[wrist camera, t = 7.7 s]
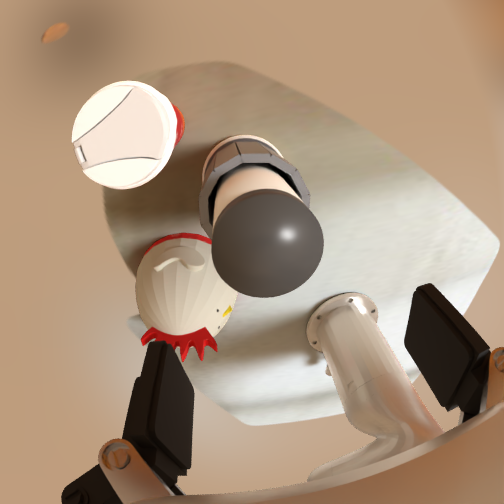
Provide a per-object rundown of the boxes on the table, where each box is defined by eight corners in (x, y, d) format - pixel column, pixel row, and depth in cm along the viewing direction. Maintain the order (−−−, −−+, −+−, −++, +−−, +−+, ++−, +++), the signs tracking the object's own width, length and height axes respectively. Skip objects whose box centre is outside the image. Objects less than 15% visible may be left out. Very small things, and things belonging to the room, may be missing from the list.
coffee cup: (140, 170, 32) (89, 210, 19) (118, 109, 29) (52, 112, 15) (205, 145, 32) (191, 168, 19) (183, 81, 28) (153, 58, 15)
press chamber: (284, 214, 37) (311, 261, 26) (204, 216, 36) (196, 266, 25) (287, 135, 32) (320, 147, 21) (201, 136, 31) (188, 148, 20)
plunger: (274, 207, 34) (317, 294, 18) (218, 208, 33) (214, 299, 18) (275, 152, 31) (328, 195, 15) (216, 153, 30) (208, 197, 15)
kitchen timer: (237, 316, 44) (245, 397, 30) (149, 317, 42) (128, 395, 29) (236, 230, 37) (245, 301, 24) (132, 234, 36) (91, 302, 23)
